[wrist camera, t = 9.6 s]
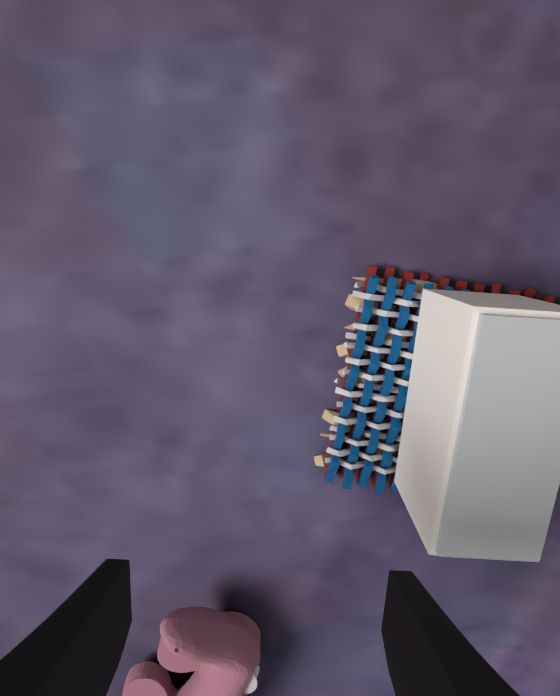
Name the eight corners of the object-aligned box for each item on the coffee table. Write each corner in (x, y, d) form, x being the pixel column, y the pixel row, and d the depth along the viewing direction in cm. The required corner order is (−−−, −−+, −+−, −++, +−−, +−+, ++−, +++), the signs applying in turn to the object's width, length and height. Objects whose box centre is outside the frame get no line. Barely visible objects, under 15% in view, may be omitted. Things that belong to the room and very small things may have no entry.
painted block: (517, 295, 18) (608, 316, 13) (478, 486, 20) (543, 567, 15) (422, 288, 18) (478, 308, 13) (394, 481, 20) (431, 560, 15)
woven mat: (571, 294, 20) (603, 300, 18) (505, 494, 22) (527, 519, 21) (350, 257, 19) (358, 259, 18) (309, 465, 22) (312, 488, 20)
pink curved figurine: (82, 686, 24) (184, 741, 26) (44, 779, 20) (169, 841, 21) (183, 558, 23) (285, 621, 25) (167, 627, 19) (292, 700, 20)
